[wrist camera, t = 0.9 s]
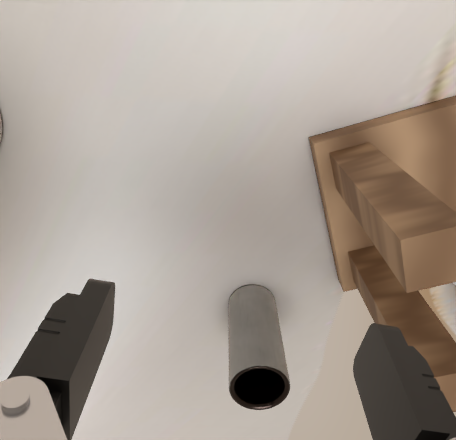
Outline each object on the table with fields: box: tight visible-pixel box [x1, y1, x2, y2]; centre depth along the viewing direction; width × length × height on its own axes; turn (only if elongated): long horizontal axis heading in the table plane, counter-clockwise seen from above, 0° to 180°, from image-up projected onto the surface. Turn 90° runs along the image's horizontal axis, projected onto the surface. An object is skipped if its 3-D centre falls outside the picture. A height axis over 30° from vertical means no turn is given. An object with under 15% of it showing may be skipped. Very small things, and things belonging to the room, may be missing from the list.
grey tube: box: [228, 285, 290, 410], centre depth 35 cm, size 4×4×10 cm
